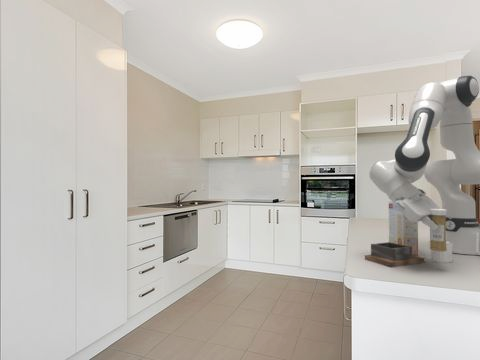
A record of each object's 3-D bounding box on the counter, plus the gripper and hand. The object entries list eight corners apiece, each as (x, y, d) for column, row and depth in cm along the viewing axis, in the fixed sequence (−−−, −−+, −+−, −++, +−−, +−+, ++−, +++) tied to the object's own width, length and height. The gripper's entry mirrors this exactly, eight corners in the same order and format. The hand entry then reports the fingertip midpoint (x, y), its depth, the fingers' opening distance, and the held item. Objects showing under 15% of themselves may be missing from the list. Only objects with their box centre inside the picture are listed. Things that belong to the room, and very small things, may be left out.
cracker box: (419, 255, 108) (418, 202, 109) (403, 255, 109) (402, 202, 110) (402, 248, 122) (402, 200, 123) (388, 247, 123) (387, 200, 123)
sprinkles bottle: (449, 251, 89) (449, 209, 89) (442, 252, 87) (441, 209, 87) (434, 248, 93) (433, 208, 93) (426, 249, 91) (426, 208, 91)
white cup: (448, 259, 103) (448, 240, 103) (456, 264, 97) (456, 244, 97) (427, 257, 105) (427, 239, 106) (433, 262, 99) (433, 242, 99)
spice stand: (397, 255, 109) (397, 241, 109) (424, 262, 99) (424, 246, 99) (364, 259, 103) (364, 244, 103) (390, 267, 93) (390, 250, 93)
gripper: (400, 192, 90) (436, 225, 82) (424, 190, 102) (458, 218, 94) (386, 205, 93) (419, 238, 85) (412, 201, 105) (443, 230, 97)
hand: (440, 228), depth 90 cm, fingers closed on sprinkles bottle, 4 cm apart
